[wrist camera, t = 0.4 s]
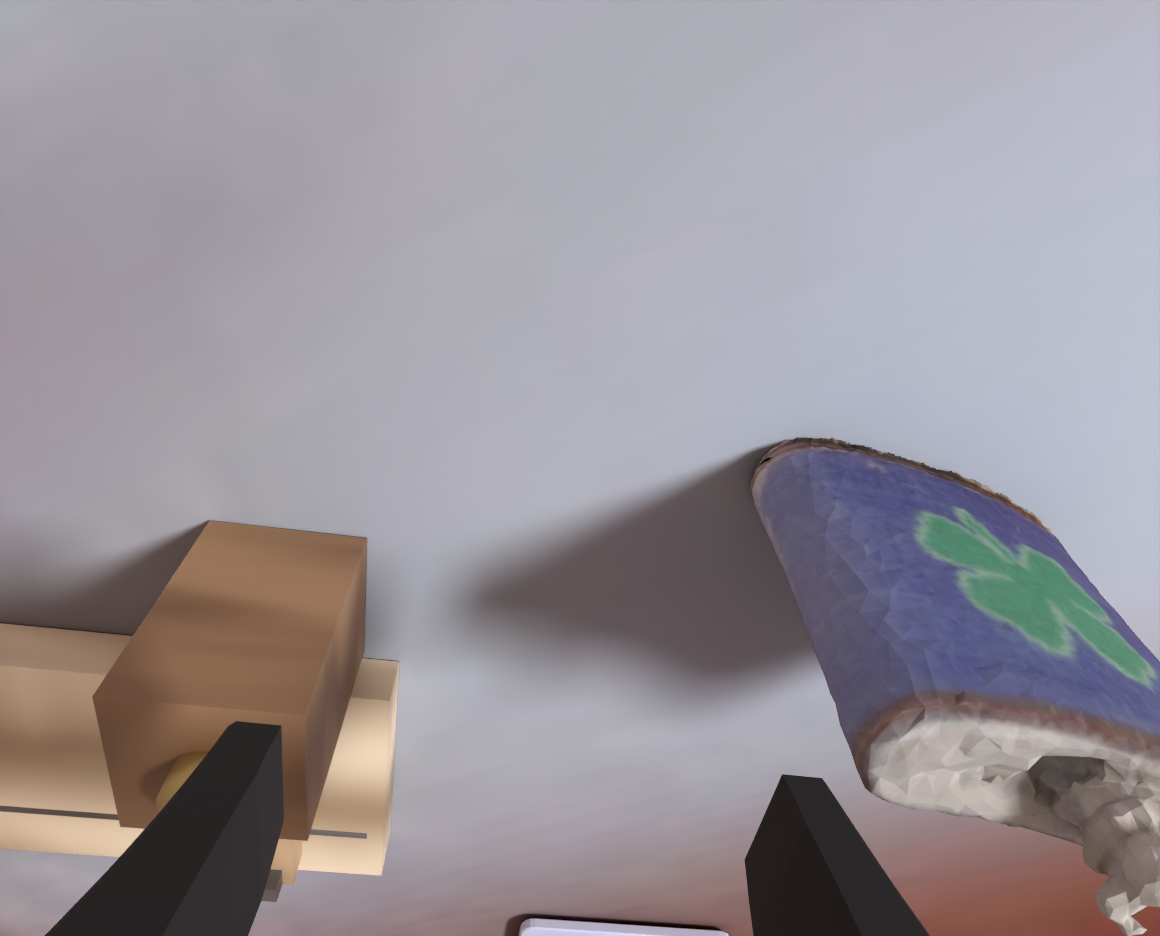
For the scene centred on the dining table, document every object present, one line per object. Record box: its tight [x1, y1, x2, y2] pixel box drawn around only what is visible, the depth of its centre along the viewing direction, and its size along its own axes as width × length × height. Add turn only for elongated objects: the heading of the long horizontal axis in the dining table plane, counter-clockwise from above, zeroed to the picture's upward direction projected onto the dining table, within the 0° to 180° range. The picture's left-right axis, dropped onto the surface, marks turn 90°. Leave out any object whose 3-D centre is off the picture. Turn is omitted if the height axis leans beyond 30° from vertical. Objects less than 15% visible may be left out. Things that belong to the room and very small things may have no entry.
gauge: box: [92, 521, 367, 902], centre depth 21 cm, size 11×4×7 cm, turn 171°
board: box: [0, 623, 399, 875], centre depth 24 cm, size 8×18×2 cm, turn 81°
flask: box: [751, 438, 1160, 936], centre depth 16 cm, size 9×3×11 cm, turn 66°
